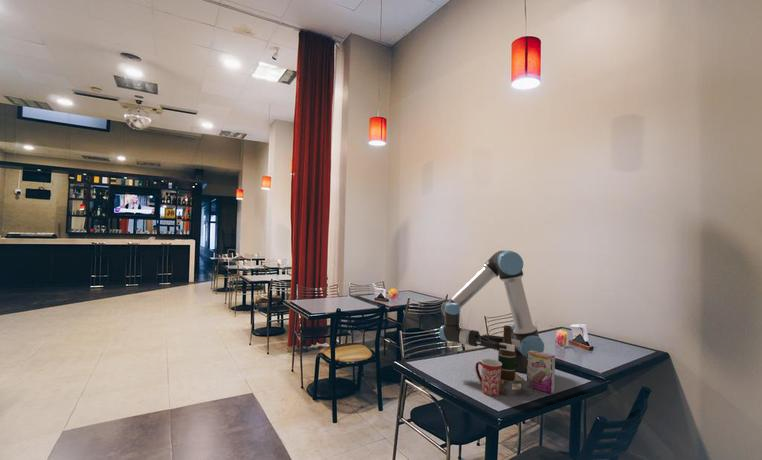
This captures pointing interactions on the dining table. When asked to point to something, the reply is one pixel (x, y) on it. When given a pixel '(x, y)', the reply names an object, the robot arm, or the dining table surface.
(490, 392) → the mug
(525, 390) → the shelf step
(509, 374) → the beer bottle
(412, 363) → the dining table surface
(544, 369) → the candy bar box
